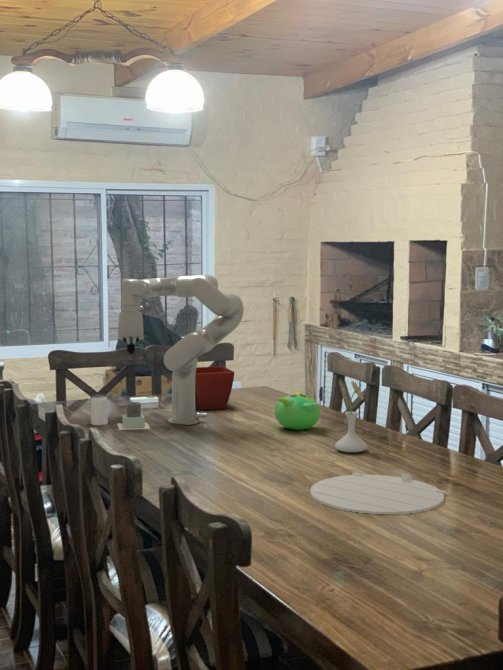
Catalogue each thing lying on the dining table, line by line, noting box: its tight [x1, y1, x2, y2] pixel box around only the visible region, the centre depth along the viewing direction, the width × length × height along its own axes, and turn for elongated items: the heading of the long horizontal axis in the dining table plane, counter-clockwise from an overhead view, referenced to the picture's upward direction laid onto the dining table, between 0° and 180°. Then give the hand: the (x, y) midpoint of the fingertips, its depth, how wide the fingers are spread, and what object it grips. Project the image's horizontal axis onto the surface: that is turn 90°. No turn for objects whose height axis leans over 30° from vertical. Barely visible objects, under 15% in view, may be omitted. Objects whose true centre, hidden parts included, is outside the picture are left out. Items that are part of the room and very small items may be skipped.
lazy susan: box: [309, 472, 449, 515], centre depth 268 cm, size 40×39×3 cm
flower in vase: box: [334, 380, 368, 453], centre depth 322 cm, size 13×11×25 cm
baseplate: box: [116, 421, 152, 431], centre depth 357 cm, size 12×12×1 cm
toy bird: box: [274, 390, 321, 431], centre depth 357 cm, size 18×17×15 cm
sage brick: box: [121, 413, 146, 428], centre depth 356 cm, size 8×8×4 cm
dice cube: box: [126, 401, 142, 417], centre depth 357 cm, size 5×5×5 cm
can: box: [90, 394, 109, 426], centre depth 360 cm, size 6×6×12 cm
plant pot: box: [195, 366, 235, 411], centre depth 401 cm, size 19×19×17 cm
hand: (130, 353), depth 372 cm, fingers closed
